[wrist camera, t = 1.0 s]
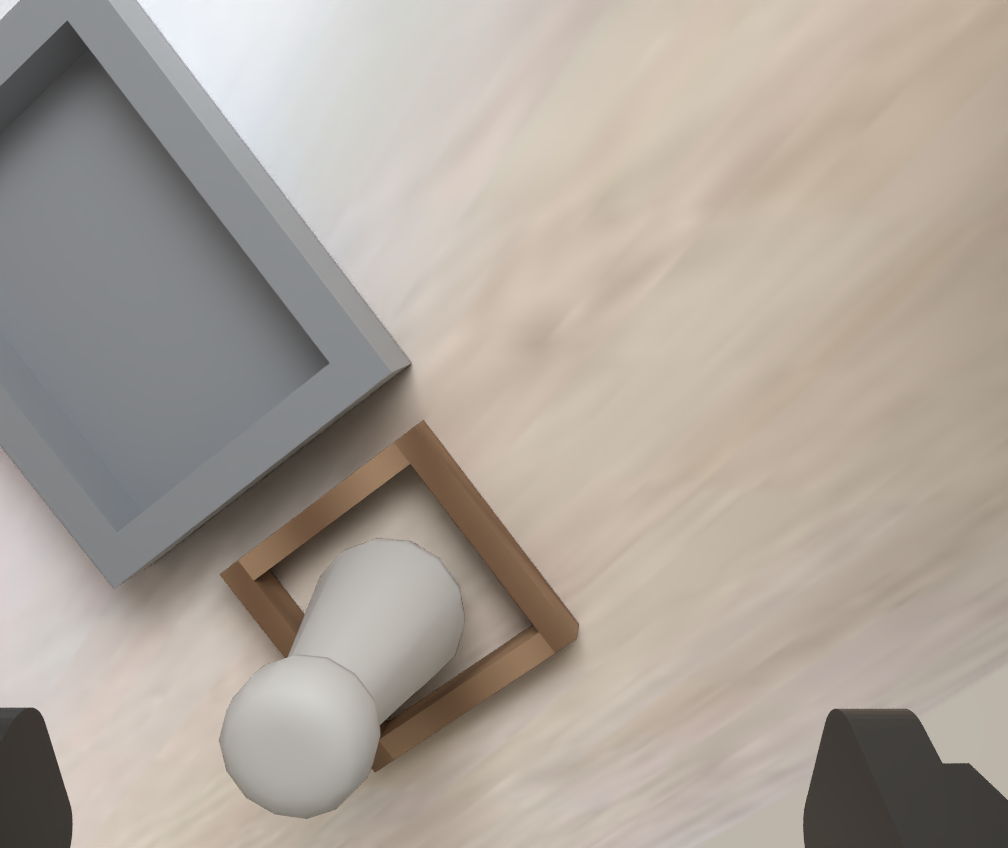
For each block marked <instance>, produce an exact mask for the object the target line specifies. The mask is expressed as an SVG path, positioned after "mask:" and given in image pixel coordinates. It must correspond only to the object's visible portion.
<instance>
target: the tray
mask: <svg viewBox="0 0 1008 848" xmlns="http://www.w3.org/2000/svg"><path fill="white" fill-rule="evenodd" d="M411 363H412V362H411V361H410V360H409V359H408V357H407V356H406V355H405V353H404V352H403V351H402V349H401V348H400V347H399V345H398V344H397V343H396V341H395V340H394V339H393V337H392V336H391V335H390V334H389V332H388V331H387V330H386V328H385V327H384V326H383V324H382V323H381V322H380V320H379V319H378V318H377V316H376V315H375V314H374V312H373V311H372V310H371V308H370V307H369V306H368V305H367V303H366V302H365V301H364V299H363V298H362V297H361V295H360V294H359V293H358V291H357V290H356V289H355V287H354V286H353V285H352V283H351V282H350V281H349V280H348V278H347V277H346V276H345V274H344V273H343V272H342V270H341V269H340V268H339V266H338V265H337V264H336V262H335V261H334V260H333V258H332V257H331V256H330V255H329V253H328V252H327V251H326V249H325V248H324V247H323V245H322V244H321V243H320V241H319V240H318V239H317V237H316V236H315V235H314V233H313V232H312V231H311V229H310V228H309V227H308V226H307V224H306V223H305V222H304V220H303V219H302V218H301V216H300V215H299V214H298V212H297V211H296V210H295V208H294V207H293V206H292V204H291V203H290V202H289V201H288V199H287V198H286V197H285V195H284V194H283V193H282V191H281V190H280V189H279V187H278V186H277V185H276V183H275V182H274V181H273V179H272V178H271V177H270V176H269V174H268V173H267V172H266V170H265V169H264V168H263V166H262V165H261V164H260V162H259V161H258V160H257V158H256V157H255V156H254V154H253V153H252V152H251V151H250V149H249V148H248V147H247V145H246V144H245V143H244V141H243V140H242V139H241V137H240V136H239V135H238V133H237V132H236V131H235V129H234V128H233V127H232V125H231V124H230V123H229V122H228V120H227V119H226V118H225V116H224V115H223V114H222V112H221V111H220V110H219V108H218V107H217V106H216V104H215V103H214V102H213V100H212V99H211V98H210V97H209V95H208V94H207V93H206V91H205V90H204V89H203V87H202V86H201V85H200V83H199V82H198V81H197V79H196V78H195V77H194V75H193V74H192V73H191V72H190V70H189V69H188V68H187V66H186V65H185V64H184V62H183V61H182V60H181V58H180V57H179V56H178V54H177V53H176V52H175V50H174V49H173V48H172V46H171V45H170V44H169V43H168V41H167V40H166V39H165V37H164V36H163V35H162V33H161V32H160V31H159V29H158V28H157V27H156V25H155V24H154V23H153V21H152V20H151V19H150V18H149V16H148V15H147V14H146V12H145V11H144V10H143V8H142V7H141V6H140V4H139V3H138V2H137V0H20V1H19V2H18V3H17V4H16V5H15V6H14V7H13V8H12V9H11V10H10V11H9V12H8V13H7V14H6V15H5V16H4V17H3V18H2V19H1V20H0V446H1V447H2V448H3V450H4V451H5V452H6V453H7V455H8V456H9V457H10V458H11V460H12V461H13V462H14V463H15V465H16V466H17V467H18V468H19V470H20V471H21V472H22V474H23V475H24V476H25V477H26V479H27V480H28V481H29V482H30V484H31V485H32V486H33V487H34V489H35V490H36V491H37V492H38V494H39V495H40V496H41V497H42V499H43V500H44V501H45V503H46V504H47V505H48V506H49V508H50V509H51V510H52V511H53V513H54V514H55V515H56V516H57V518H58V519H59V520H60V521H61V523H62V524H63V525H64V527H65V528H66V529H67V530H68V532H69V533H70V534H71V535H72V537H73V538H74V539H75V540H76V542H77V543H78V544H79V545H80V547H81V548H82V549H83V550H84V552H85V553H86V554H87V556H88V557H89V558H90V559H91V561H92V562H93V563H94V564H95V566H96V567H97V568H98V569H99V571H100V572H101V573H102V574H103V576H104V577H105V578H106V579H107V581H108V582H109V583H110V585H111V586H112V587H113V588H116V587H117V586H119V585H121V584H122V583H124V582H125V581H127V580H129V579H130V578H132V577H133V576H135V575H137V574H138V573H140V572H141V571H143V570H145V569H146V568H148V567H149V566H151V565H152V564H154V563H155V562H156V561H158V560H159V559H160V558H162V557H163V556H164V555H165V554H167V553H168V552H169V551H171V550H172V549H173V548H174V547H176V546H177V545H178V544H180V543H181V542H182V541H184V540H185V539H186V538H187V537H189V536H190V535H191V534H193V533H194V532H195V531H196V530H198V529H199V528H200V527H202V526H203V525H204V524H205V523H207V522H208V521H209V520H211V519H212V518H213V517H214V516H216V515H217V514H218V513H220V512H221V511H222V510H223V509H225V508H226V507H227V506H229V505H230V504H231V503H232V502H234V501H235V500H236V499H238V498H239V497H240V496H241V495H243V494H244V493H245V492H247V491H248V490H249V489H250V488H252V487H253V486H254V485H256V484H257V483H258V482H259V481H261V480H262V479H263V478H265V477H266V476H267V475H268V474H270V473H271V472H272V471H274V470H275V469H276V468H278V467H279V466H280V465H281V464H283V463H284V462H285V461H287V460H288V459H289V458H290V457H292V456H293V455H294V454H296V453H297V452H298V451H299V450H301V449H302V448H303V447H305V446H306V445H307V444H308V443H310V442H311V441H312V440H314V439H315V438H316V437H317V436H319V435H320V434H321V433H323V432H324V431H325V430H326V429H328V428H329V427H330V426H332V425H333V424H334V423H335V422H337V421H338V420H339V419H341V418H342V417H343V416H344V415H346V414H347V413H348V412H350V411H351V410H352V409H353V408H355V407H356V406H357V405H359V404H360V403H361V402H362V401H364V400H365V399H366V398H368V397H369V396H370V395H372V394H373V393H374V392H375V391H377V390H378V389H379V388H381V387H382V386H383V385H384V384H386V383H387V382H388V381H390V380H391V379H392V378H393V377H395V376H396V375H397V374H399V373H400V372H401V371H402V370H404V369H405V368H406V367H408V366H409V365H410V364H411Z"/></svg>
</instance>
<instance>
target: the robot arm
mask: <svg viewBox="0 0 1008 848" xmlns="http://www.w3.org/2000/svg"><path fill="white" fill-rule="evenodd" d="M803 821H804V822H803V830H804V831H803V832H804V844H805V848H1008V800H1007V799H1006V798H1005V797H1004V796H1003V795H1002V794H1001V793H1000V792H999V791H998V790H997V789H995V788H994V787H993V786H992V785H991V784H990V783H989V782H988V781H987V780H986V779H985V778H984V777H983V776H982V775H981V774H980V773H978V771H976V770H975V769H974V768H973V767H972V766H971V765H970V764H969V763H966V764H965V763H960V764H959V763H957V764H956V763H954V764H943V763H942V762H941V760H940V758H939V756H938V754H937V752H936V750H935V748H934V746H933V744H932V743H931V741H930V739H929V737H928V735H927V733H926V731H925V729H924V727H923V725H922V724H921V722H920V720H919V719H918V717H917V716H916V715H915V714H914V713H913V712H912V711H910V710H908V709H833V710H832V711H831V712H830V713H829V715H828V717H827V719H826V722H825V726H824V730H823V734H822V738H821V742H820V746H819V750H818V754H817V758H816V763H815V767H814V771H813V775H812V779H811V783H810V787H809V791H808V795H807V799H806V803H805V809H804V818H803ZM72 825H73V824H72V810H71V806H70V802H69V799H68V796H67V792H66V789H65V786H64V783H63V779H62V776H61V773H60V770H59V766H58V763H57V760H56V757H55V753H54V750H53V747H52V744H51V740H50V737H49V734H48V731H47V728H46V724H45V721H44V719H43V716H42V715H41V713H40V712H39V711H38V710H37V709H35V708H0V848H70V846H71V839H72Z"/></svg>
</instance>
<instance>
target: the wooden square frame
mask: <svg viewBox="0 0 1008 848" xmlns="http://www.w3.org/2000/svg"><path fill="white" fill-rule="evenodd" d="M409 464H411V465H412V467H413V468H414V469H415V471H416V472H417V473H418V475H419V476H420V477H421V478H422V480H423V481H424V482H425V484H426V485H427V486H428V488H429V489H430V490H431V492H432V493H433V494H434V495H435V497H436V498H437V499H438V501H439V502H440V503H441V505H442V506H443V507H444V509H445V510H446V511H447V512H448V514H449V515H450V516H451V518H452V519H453V520H454V522H455V523H456V524H457V526H458V527H459V528H460V529H461V531H462V532H463V533H464V535H465V536H466V537H467V539H468V540H469V541H470V543H471V544H472V545H473V546H474V548H475V549H476V550H477V552H478V553H479V554H480V556H481V557H482V558H483V560H484V561H485V562H486V563H487V565H488V566H489V567H490V569H491V570H492V571H493V573H494V574H495V575H496V576H497V578H498V579H499V580H500V582H501V583H502V584H503V586H504V587H505V588H506V590H507V591H508V592H509V593H510V595H511V596H512V597H513V599H514V600H515V601H516V603H517V604H518V605H519V607H520V608H521V609H522V610H523V612H524V613H525V614H526V616H527V617H528V618H529V620H530V621H531V622H532V624H533V625H532V626H530V627H529V628H527V629H526V630H524V631H523V632H521V633H520V634H518V635H517V636H515V637H514V638H512V639H511V640H509V641H508V642H506V643H505V644H504V645H502V646H501V647H499V648H498V649H496V650H495V651H493V652H492V653H490V654H489V655H487V656H486V657H484V658H483V659H481V660H480V661H478V662H477V663H475V664H474V665H472V666H471V667H469V668H468V669H466V670H465V671H463V672H462V673H460V674H459V675H458V676H456V677H455V678H453V679H452V680H450V681H449V682H447V683H446V684H444V685H443V686H441V687H440V688H438V689H437V690H435V691H434V692H432V693H431V694H429V695H428V696H426V697H425V698H423V699H422V700H420V701H419V702H417V703H416V704H414V705H413V706H412V707H410V708H409V709H407V710H406V711H404V712H403V713H401V714H400V715H398V716H397V717H395V718H394V719H392V720H391V721H389V722H388V721H387V719H386V720H385V721H384V722H383V723H381V724H380V725H379V726H380V734H381V735H380V739H379V743H378V747H377V750H376V754H375V758H374V762H373V765H372V767H371V768H372V769H373V771H374V772H376V771H378V770H379V769H381V768H382V767H384V766H385V765H387V764H388V763H390V762H391V761H393V760H395V759H396V758H398V757H399V756H401V755H402V754H404V753H405V752H407V751H408V750H410V749H411V748H413V747H414V746H416V745H417V744H419V743H420V742H422V741H423V740H425V739H426V738H428V737H429V736H431V735H432V734H434V733H435V732H437V731H438V730H440V729H441V728H443V727H444V726H446V725H447V724H449V723H450V722H452V721H453V720H455V719H457V718H458V717H460V716H461V715H463V714H464V713H466V712H467V711H469V710H470V709H472V708H473V707H475V706H476V705H478V704H479V703H481V702H482V701H484V700H485V699H487V698H488V697H490V696H491V695H493V694H494V693H496V692H497V691H499V690H500V689H502V688H503V687H505V686H506V685H508V684H509V683H511V682H512V681H514V680H515V679H517V678H519V677H520V676H522V675H523V674H525V673H526V672H528V671H529V670H531V669H532V668H534V667H535V666H537V665H538V664H540V663H541V662H543V661H544V660H546V659H547V658H549V657H550V656H552V655H553V654H555V653H556V652H558V651H559V650H561V649H562V648H564V647H565V646H567V645H568V644H570V643H571V642H573V641H574V640H576V639H577V633H578V627H579V623H578V622H577V621H576V619H575V618H574V617H573V615H572V614H571V613H570V612H569V610H568V609H567V608H566V606H565V605H564V604H563V602H562V601H561V600H560V598H559V597H558V596H557V594H556V593H555V592H554V590H553V589H552V588H551V587H550V585H549V584H548V583H547V581H546V580H545V579H544V577H543V576H542V575H541V573H540V572H539V571H538V569H537V568H536V567H535V566H534V564H533V563H532V562H531V560H530V559H529V558H528V556H527V555H526V554H525V552H524V551H523V550H522V548H521V547H520V546H519V545H518V543H517V542H516V541H515V539H514V538H513V537H512V535H511V534H510V533H509V531H508V530H507V529H506V527H505V526H504V525H503V524H502V522H501V521H500V520H499V518H498V517H497V516H496V514H495V513H494V512H493V510H492V509H491V508H490V506H489V505H488V504H487V503H486V501H485V500H484V499H483V497H482V496H481V495H480V493H479V492H478V491H477V489H476V488H475V487H474V485H473V484H472V483H471V482H470V480H469V479H468V478H467V476H466V475H465V474H464V472H463V471H462V470H461V468H460V467H459V466H458V464H457V463H456V462H455V461H454V459H453V458H452V457H451V455H450V454H449V453H448V451H447V450H446V449H445V447H444V446H443V445H442V443H441V442H440V441H439V440H438V438H437V437H436V436H435V434H434V433H433V432H432V430H431V429H430V428H429V426H428V425H427V424H426V422H425V421H424V420H423V421H422V422H420V423H419V424H418V425H416V426H415V427H414V428H412V429H411V430H410V431H408V432H407V433H406V434H404V435H403V436H402V437H401V438H399V439H398V440H397V441H395V442H394V443H393V444H391V445H390V446H389V447H387V448H386V449H385V450H383V451H382V452H381V453H379V454H378V455H377V456H375V457H374V458H373V459H371V460H370V461H369V462H367V463H366V464H365V465H364V466H362V467H361V468H360V469H358V470H357V471H356V472H354V473H353V474H352V475H350V476H349V477H348V478H346V479H345V480H344V481H342V482H341V483H340V484H338V485H337V486H336V487H334V488H333V489H332V490H330V491H329V492H328V493H327V494H325V495H324V496H323V497H321V498H320V499H319V500H317V501H316V502H315V503H313V504H312V505H311V506H309V507H308V508H307V509H305V510H304V511H303V512H301V513H300V514H299V515H297V516H296V517H295V518H293V519H292V520H291V521H290V522H288V523H287V524H286V525H284V526H283V527H282V528H280V529H279V530H278V531H276V532H275V533H274V534H272V535H271V536H270V537H268V538H267V539H266V540H264V541H263V542H262V543H260V544H259V545H258V546H257V547H255V548H254V549H253V550H251V551H250V552H249V553H247V554H246V555H245V556H243V557H242V558H241V559H239V560H238V561H237V562H235V563H234V564H233V565H231V566H230V567H229V568H227V569H226V570H225V571H223V572H222V573H221V574H220V576H221V577H222V578H223V579H224V581H225V582H226V583H227V584H228V586H229V587H230V588H231V590H232V591H233V592H234V593H235V595H236V596H237V597H238V598H239V600H240V601H241V602H242V604H243V605H244V606H245V607H246V609H247V610H248V611H249V612H250V614H251V615H252V616H253V618H254V619H255V620H256V621H257V623H258V624H259V625H260V627H261V628H262V629H263V630H264V632H265V633H266V634H267V635H268V637H269V638H270V639H271V641H272V642H273V643H274V644H275V646H276V647H277V648H278V649H279V651H280V652H281V653H282V655H283V656H284V657H285V658H287V657H288V655H289V653H290V650H291V648H292V645H293V643H294V640H295V638H296V635H297V633H298V630H299V628H300V625H301V623H302V620H303V618H304V615H305V614H304V613H303V612H302V610H301V609H300V608H299V607H298V605H297V604H296V603H295V601H294V600H293V599H292V598H291V596H290V595H289V594H288V592H287V591H286V590H285V589H284V587H283V586H282V585H281V584H280V582H279V581H278V580H277V578H276V577H275V576H274V575H273V573H272V572H271V571H270V568H271V567H273V566H274V565H275V564H277V563H278V562H280V561H281V560H282V559H284V558H285V557H286V556H288V555H289V554H290V553H292V552H293V551H294V550H296V549H297V548H298V547H300V546H301V545H302V544H304V543H305V542H306V541H308V540H309V539H310V538H312V537H313V536H314V535H316V534H317V533H318V532H320V531H321V530H322V529H324V528H325V527H326V526H328V525H329V524H330V523H332V522H333V521H334V520H336V519H337V518H338V517H340V516H341V515H342V514H344V513H345V512H346V511H348V510H349V509H350V508H352V507H353V506H354V505H356V504H357V503H359V502H360V501H361V500H363V499H364V498H365V497H367V496H368V495H369V494H371V493H372V492H373V491H375V490H376V489H377V488H379V487H380V486H381V485H383V484H384V483H385V482H387V481H388V480H389V479H391V478H392V477H393V476H395V475H396V474H397V473H399V472H400V471H401V470H403V469H404V468H405V467H407V466H408V465H409Z"/></svg>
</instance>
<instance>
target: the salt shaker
mask: <svg viewBox="0 0 1008 848" xmlns="http://www.w3.org/2000/svg"><path fill="white" fill-rule="evenodd" d="M464 621H465V615H464V609H463V604H462V598H461V593H460V587H459V585H458V583H457V582H456V580H455V579H454V578H453V576H452V575H451V573H450V572H449V571H448V569H447V568H446V567H445V565H444V564H443V562H442V561H441V560H440V558H438V557H437V556H435V555H433V554H432V553H430V552H428V551H426V550H425V549H423V548H421V547H420V546H419V545H418V544H416V543H413V542H411V541H404V540H393V539H382V538H376V539H373V540H370V541H368V542H365V543H362V544H360V545H357V546H354V547H352V548H349V549H347V550H345V551H343V552H341V553H340V554H339V555H338V556H337V558H336V559H335V560H334V561H333V562H332V563H331V564H330V566H329V567H328V568H327V569H326V570H325V571H324V572H323V574H322V575H321V576H320V578H319V580H318V583H317V585H316V588H315V590H314V593H313V595H312V598H311V600H310V603H309V605H308V608H307V610H306V613H305V615H304V618H303V620H302V623H301V625H300V628H299V630H298V633H297V635H296V638H295V640H294V643H293V645H292V648H291V650H290V653H289V655H288V657H287V658H284V659H282V660H279V661H276V662H273V663H270V664H267V665H264V666H262V667H261V668H260V669H259V670H258V671H257V672H256V673H255V674H254V675H253V676H252V677H251V678H250V679H249V680H248V681H247V683H246V684H245V685H244V686H243V687H242V688H241V689H240V690H239V692H238V693H237V694H236V695H235V696H234V697H233V699H232V701H231V703H230V705H229V707H228V709H227V711H226V714H225V718H224V722H223V726H222V730H221V734H220V738H219V742H220V746H221V750H222V754H223V759H224V763H225V767H226V771H227V772H228V774H229V775H230V776H231V778H232V779H233V780H234V782H235V783H236V785H237V786H238V787H239V789H240V790H241V791H242V793H243V794H244V795H245V797H246V798H248V799H249V800H251V801H253V802H255V803H256V804H258V805H260V806H261V807H263V808H265V809H267V810H268V811H270V812H272V813H274V814H277V815H284V816H291V817H297V818H304V819H308V818H311V817H314V816H317V815H320V814H323V813H326V812H329V811H332V810H335V809H337V808H338V807H339V806H340V805H341V804H342V803H343V802H344V801H345V800H346V799H347V798H348V797H349V796H350V795H351V794H352V793H353V792H354V791H355V790H356V789H357V788H358V787H359V786H360V784H361V783H362V782H363V781H364V780H365V779H366V778H367V777H368V775H369V772H370V770H371V767H372V765H373V762H374V758H375V754H376V750H377V747H378V743H379V739H380V735H381V734H380V726H379V725H380V724H381V723H383V722H384V721H385V720H386V719H387V718H388V717H389V716H390V715H391V714H392V713H393V712H394V711H396V710H397V709H398V708H399V707H400V706H401V705H402V704H403V703H404V702H405V701H406V700H407V699H409V698H410V697H411V696H412V695H413V694H414V693H415V692H417V691H418V690H419V689H420V688H421V687H422V686H424V685H425V684H426V683H427V682H428V681H429V680H431V679H432V678H433V677H434V676H435V675H436V674H437V673H438V672H439V671H440V670H441V669H442V668H443V667H444V666H445V665H446V664H447V663H448V662H449V661H450V660H451V659H452V658H453V657H454V656H455V655H456V652H457V648H458V644H459V641H460V637H461V633H462V630H463V626H464Z"/></svg>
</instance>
